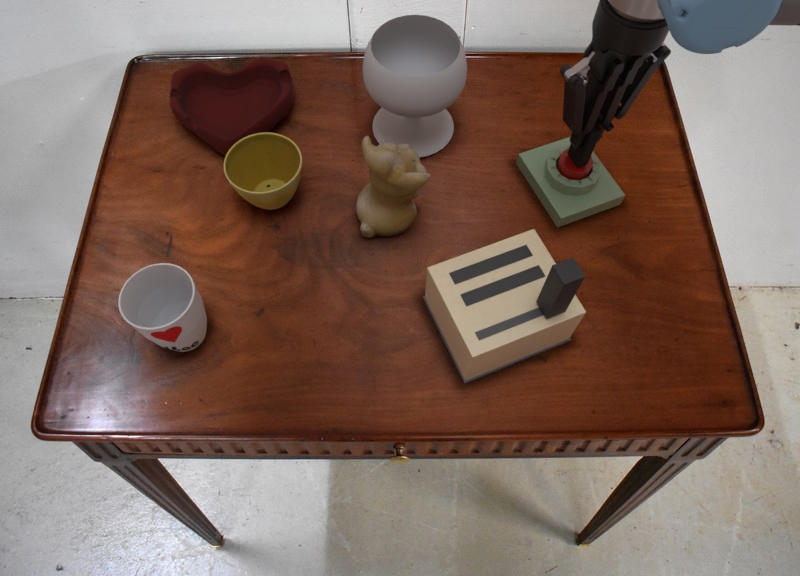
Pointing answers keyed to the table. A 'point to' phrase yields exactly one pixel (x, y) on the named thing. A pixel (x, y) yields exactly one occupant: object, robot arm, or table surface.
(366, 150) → the figurine
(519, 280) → the toaster
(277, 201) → the flower pot
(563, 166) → the button
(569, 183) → the control block
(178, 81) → the ashtray
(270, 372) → the table surface
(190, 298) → the cup
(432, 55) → the chalice
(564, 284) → the toaster slider
